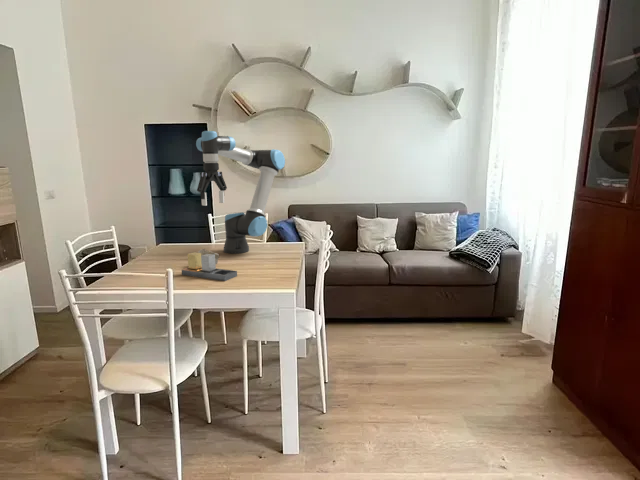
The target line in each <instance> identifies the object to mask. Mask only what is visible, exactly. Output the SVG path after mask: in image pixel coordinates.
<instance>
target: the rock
mask: <svg viewBox="0 0 640 480" xmlns="http://www.w3.org/2000/svg"><path fill="white" fill-rule="evenodd" d="M196 253H201V256H202V255H205V254H214V255H215V264H216V265H217V264H218V263H219V257H220V255H219V253H217V252H213V251H212V250H206V249H205V248H201V249H199V250H198V251H197V252H196Z"/></svg>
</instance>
